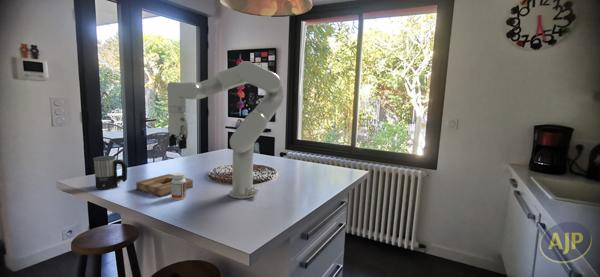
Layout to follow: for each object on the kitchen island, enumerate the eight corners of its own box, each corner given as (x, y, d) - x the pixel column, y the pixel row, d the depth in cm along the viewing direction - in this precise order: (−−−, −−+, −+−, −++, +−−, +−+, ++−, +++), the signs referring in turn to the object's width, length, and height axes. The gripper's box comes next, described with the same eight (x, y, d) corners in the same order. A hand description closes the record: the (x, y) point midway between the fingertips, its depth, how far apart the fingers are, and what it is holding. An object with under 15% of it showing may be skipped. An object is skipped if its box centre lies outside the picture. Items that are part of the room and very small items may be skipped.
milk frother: (95, 191, 136) (93, 160, 134) (94, 182, 149) (92, 154, 147) (130, 186, 145) (128, 157, 143) (126, 178, 157) (125, 151, 155)
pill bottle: (182, 194, 137) (182, 171, 135) (188, 198, 132) (188, 174, 131) (169, 197, 132) (168, 173, 130) (175, 201, 128) (174, 176, 126)
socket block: (192, 187, 148) (192, 179, 147) (161, 197, 132) (160, 188, 131) (169, 181, 156) (168, 173, 156) (136, 189, 140) (136, 181, 140)
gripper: (194, 111, 130) (195, 149, 132) (176, 108, 141) (177, 143, 143) (177, 111, 124) (178, 151, 126) (160, 109, 135) (161, 145, 138)
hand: (177, 147), depth 135 cm, fingers open, 9 cm apart
